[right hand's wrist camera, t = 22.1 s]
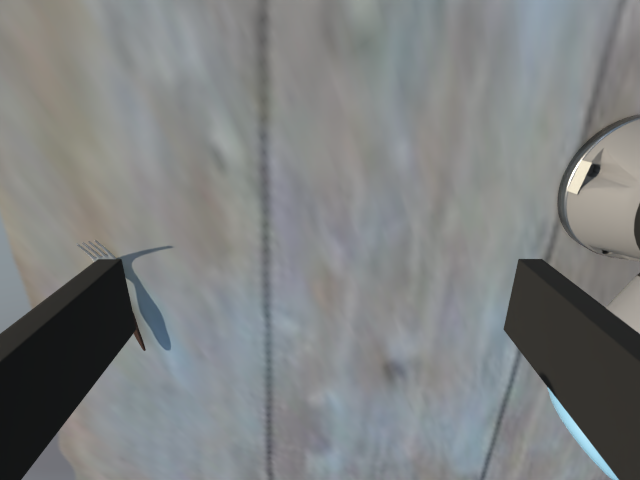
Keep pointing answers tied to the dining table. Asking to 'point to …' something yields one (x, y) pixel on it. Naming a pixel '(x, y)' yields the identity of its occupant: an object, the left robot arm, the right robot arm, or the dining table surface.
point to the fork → (110, 256)
